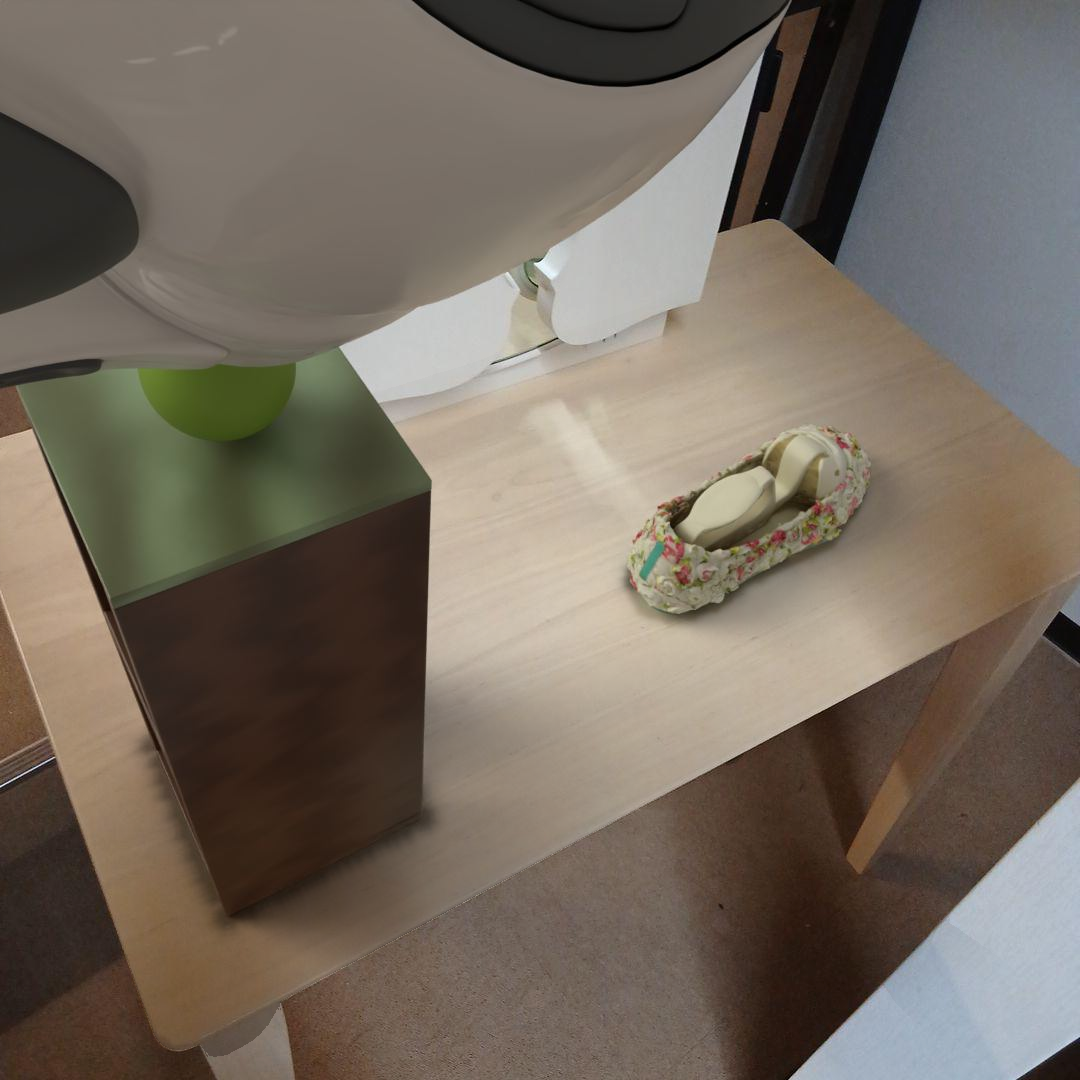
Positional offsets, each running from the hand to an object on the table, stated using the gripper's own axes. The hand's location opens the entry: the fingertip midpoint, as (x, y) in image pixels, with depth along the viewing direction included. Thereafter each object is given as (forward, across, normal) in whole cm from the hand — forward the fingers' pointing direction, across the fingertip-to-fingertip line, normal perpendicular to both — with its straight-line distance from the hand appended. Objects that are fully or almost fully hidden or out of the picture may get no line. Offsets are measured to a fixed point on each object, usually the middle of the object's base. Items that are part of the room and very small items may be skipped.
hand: (181, 267), depth 35 cm
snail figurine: (+4, 0, +5) cm, 7 cm away
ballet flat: (+28, -38, +24) cm, 53 cm away
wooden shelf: (+26, 0, +26) cm, 37 cm away
